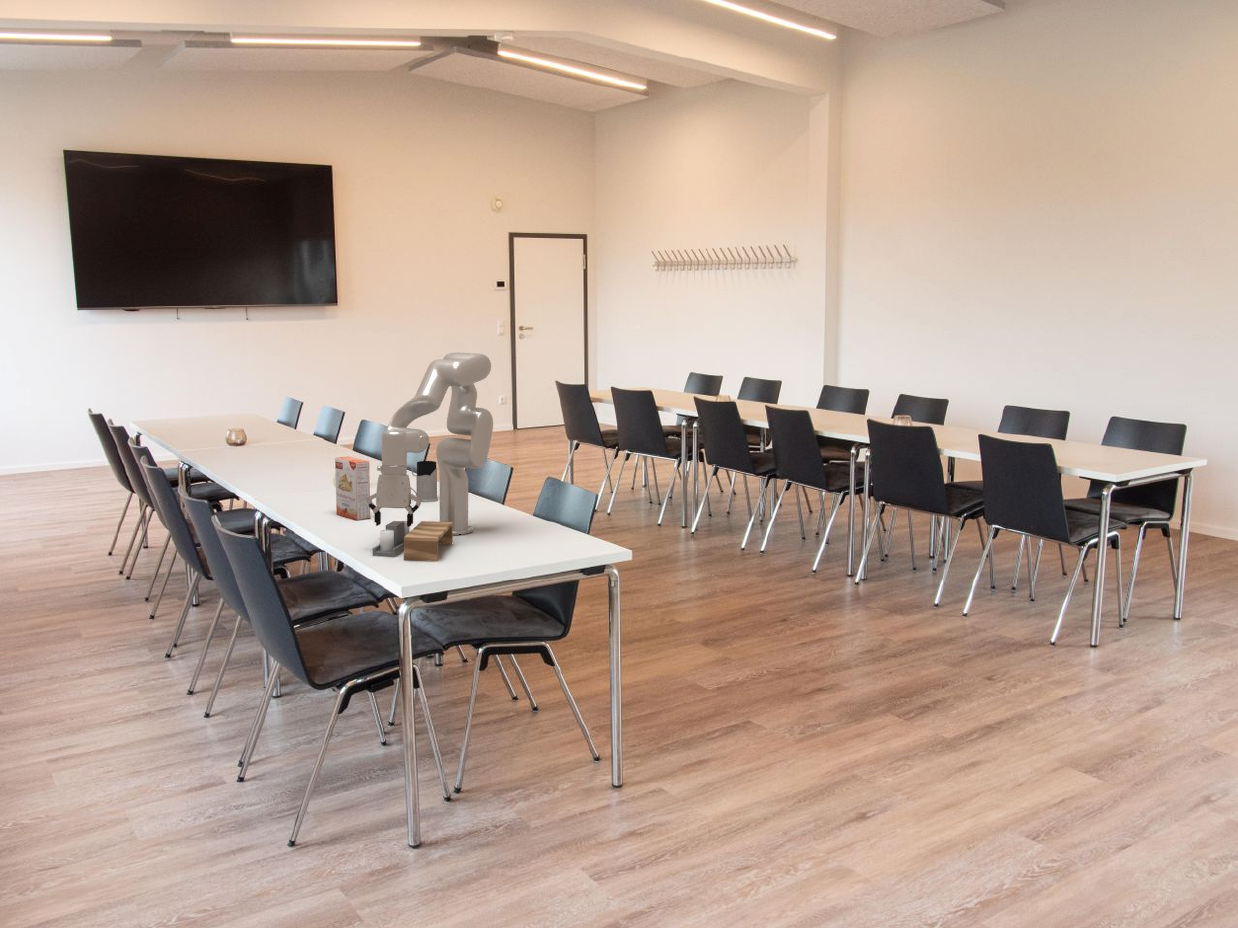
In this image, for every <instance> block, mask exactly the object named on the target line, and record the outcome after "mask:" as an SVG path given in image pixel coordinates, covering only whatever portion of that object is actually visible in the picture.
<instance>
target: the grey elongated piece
mask: <svg viewBox="0 0 1238 928" xmlns="http://www.w3.org/2000/svg"><path fill="white" fill-rule="evenodd" d="M410 527H411V526H410ZM410 527H408V526H407V520H393V521H391V522H389V523H387V524H386V525H385V529H382V530H380V531H379V539H380V542H379V543H378V544H377V545H375V546H373V547H372V549H371V551H372V557H383V558H386V557H387V558H396V557H398V556H399V555H400V554H402V553H404V537H405V536H406V535H407V534H408V533H409V532H410V531H411V530H410V529H411V528H410Z"/></svg>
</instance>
